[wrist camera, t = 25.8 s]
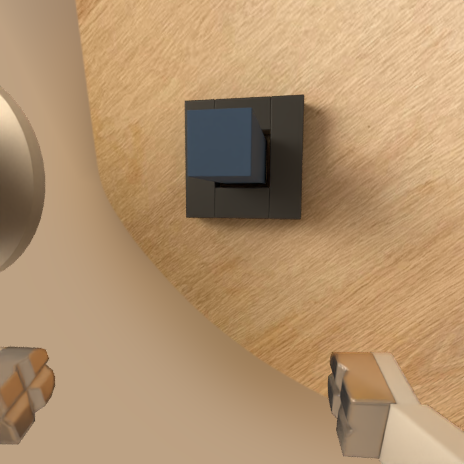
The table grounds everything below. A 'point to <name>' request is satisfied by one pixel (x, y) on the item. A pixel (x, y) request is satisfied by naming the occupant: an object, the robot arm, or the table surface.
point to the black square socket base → (281, 164)
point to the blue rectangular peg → (226, 146)
